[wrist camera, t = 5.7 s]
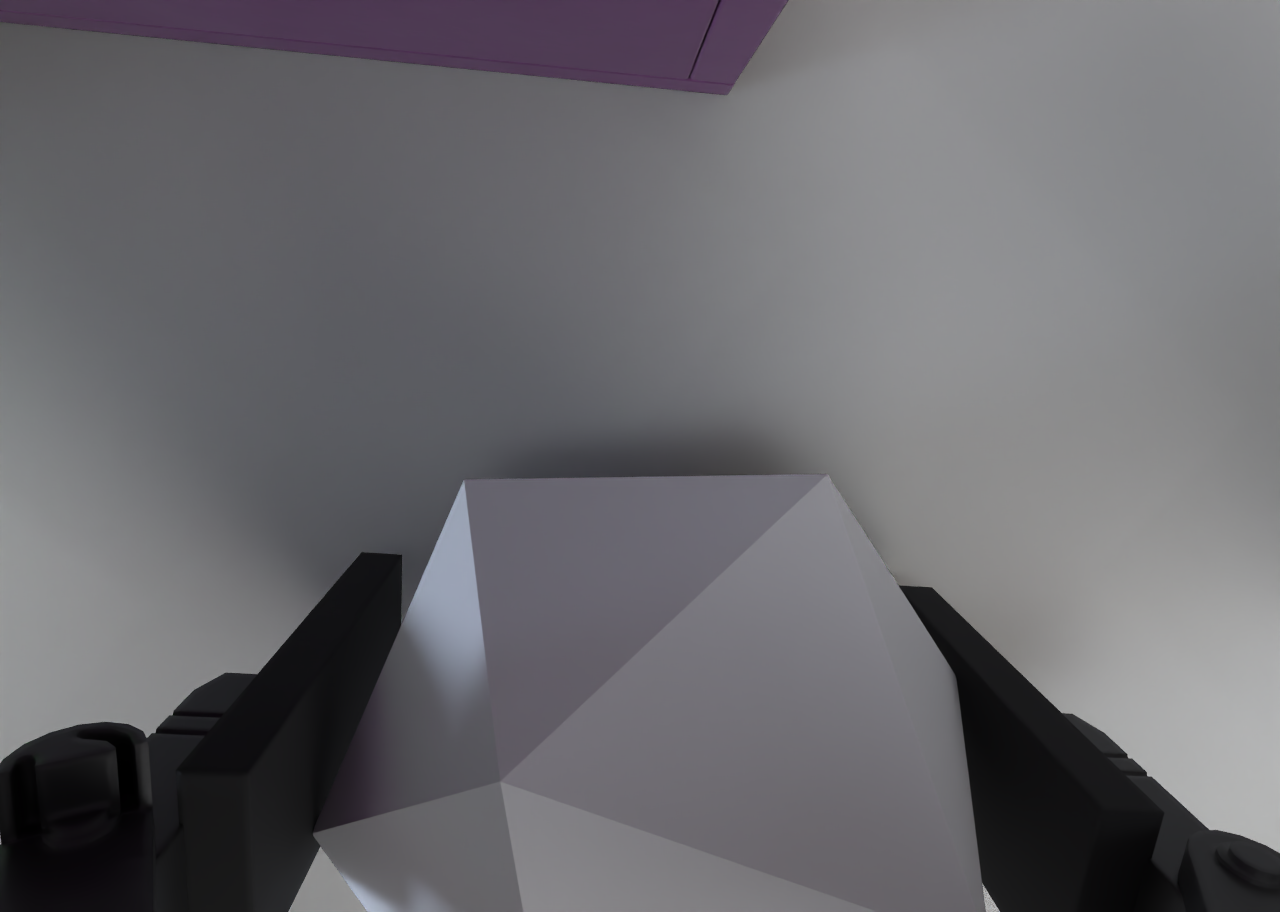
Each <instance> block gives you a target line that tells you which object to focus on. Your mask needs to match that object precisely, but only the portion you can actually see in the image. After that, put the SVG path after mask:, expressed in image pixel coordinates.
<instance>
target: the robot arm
mask: <svg viewBox="0 0 1280 912" xmlns="http://www.w3.org/2000/svg"><path fill="white" fill-rule="evenodd" d="M899 587H900V589H901V590H902V592H903V593H904V595H905V597H906V598H907V600H908V601H909V603H910V604H911V606H912V608H913V609H914V611H915V612H916V614H917V615H918V617H919V619H920V620H921V622H922V623H923V625H924V626H925V628H926V630H927V631H928V633H929V634H930V636H931V637H932V639H933V641H934V642H935V644H936V645H937V647H938V648H939V650H940V652H941V653H942V655H943V656H944V658H945V659H946V661H947V663H948V664H949V666H950V667H951V669H952V670H953V672H954V674H955V676H956V679H957V686H958V694H959V702H960V710H961V718H962V726H963V734H964V742H965V750H966V758H967V766H968V774H969V782H970V790H971V798H972V806H973V814H974V822H975V830H976V838H977V846H978V854H979V862H980V870H981V878H982V883H983V885H984V886H985V888H986V890H987V891H988V893H989V894H990V896H991V898H992V899H993V901H994V903H995V904H996V906H997V907H998V909H999V911H1000V912H1280V853H1278V852H1276V851H1275V850H1273V849H1271V848H1269V847H1267V846H1266V845H1263V844H1261V843H1258V842H1256V841H1253V840H1251V839H1248V838H1245V837H1243V836H1240V835H1236V834H1232V833H1227V832H1223V831H1218V830H1209V829H1208V828H1207V827H1205V826H1204V825H1203V824H1202V823H1201V822H1200V821H1199V820H1198V819H1197V818H1196V817H1195V816H1194V815H1192V814H1191V813H1190V812H1189V811H1188V810H1187V809H1186V808H1185V807H1184V806H1183V805H1182V804H1181V803H1179V802H1178V801H1177V800H1176V799H1175V798H1174V797H1173V796H1172V795H1171V794H1170V793H1169V792H1168V791H1166V790H1165V789H1164V788H1163V787H1162V786H1161V785H1160V784H1159V783H1158V782H1157V781H1156V780H1155V779H1153V778H1152V777H1147V772H1146V771H1145V770H1144V769H1143V768H1142V767H1141V766H1139V765H1138V764H1137V763H1136V762H1135V761H1134V760H1133V759H1129V758H1128V757H1127V754H1126V753H1125V752H1124V751H1123V750H1122V749H1121V748H1120V747H1119V746H1118V745H1117V744H1116V743H1115V742H1113V741H1112V740H1111V739H1110V738H1109V737H1108V736H1107V735H1106V734H1105V733H1103V732H1102V731H1100V730H1098V729H1097V728H1095V727H1093V726H1092V725H1090V724H1088V723H1087V722H1085V721H1083V720H1082V719H1080V718H1078V717H1077V716H1075V715H1073V714H1065V713H1061V712H1060V711H1059V710H1058V709H1057V708H1056V707H1055V706H1054V705H1053V704H1052V703H1051V702H1050V701H1049V700H1048V699H1046V698H1045V697H1044V696H1043V695H1042V694H1041V693H1040V692H1039V691H1038V690H1037V689H1036V688H1035V687H1034V686H1033V685H1032V684H1031V683H1030V682H1029V681H1028V680H1027V679H1026V678H1025V677H1024V676H1023V675H1022V674H1021V673H1020V672H1019V671H1018V670H1016V669H1015V668H1014V667H1013V666H1012V665H1011V664H1010V663H1009V662H1008V661H1007V660H1006V659H1005V658H1004V657H1003V656H1002V655H1001V654H1000V653H999V652H998V651H997V650H996V649H995V648H994V647H993V646H992V645H991V644H990V643H989V642H988V641H986V640H985V639H984V638H983V637H982V636H981V635H980V634H979V633H978V632H977V631H976V630H975V629H974V628H973V627H972V626H971V625H970V624H969V623H968V622H967V621H966V620H965V619H964V618H963V617H962V616H961V615H960V614H959V613H958V612H956V611H955V610H954V609H953V608H952V607H951V606H950V605H949V604H948V603H947V602H946V601H945V600H944V599H943V598H942V597H941V596H940V595H939V594H938V593H937V592H936V591H935V590H934V589H933V588H930V587H914V586H899ZM401 595H402V555H397V554H381V553H365V552H362V553H361V554H360V555H359V556H358V557H357V558H356V560H355V561H354V562H353V563H352V564H351V565H350V567H349V568H348V569H347V570H346V571H345V572H344V574H343V575H342V576H341V577H340V578H339V579H338V581H337V582H336V583H335V584H334V585H333V587H332V588H331V589H330V590H329V591H328V592H327V594H326V595H325V596H324V597H323V598H322V599H321V601H320V602H319V603H318V604H317V605H316V606H315V608H314V609H313V610H312V611H311V612H310V613H309V615H308V616H307V617H306V618H305V619H304V620H303V622H302V623H301V624H300V625H299V626H298V627H297V629H296V630H295V631H294V632H293V633H292V635H291V636H290V637H289V638H288V639H287V640H286V642H285V643H284V644H283V645H282V646H281V647H280V649H279V650H278V651H277V652H276V653H275V654H274V656H273V657H272V658H271V659H270V660H269V661H268V663H267V664H266V665H265V666H264V667H263V668H262V670H261V671H260V672H259V673H258V674H240V673H224V674H222V675H221V676H219V677H217V678H215V679H213V680H212V681H210V682H208V683H206V684H204V685H202V686H201V687H199V688H197V689H195V690H194V691H193V692H192V693H191V694H190V695H189V696H188V697H187V698H186V699H185V700H184V701H183V702H182V703H181V704H180V705H179V706H178V707H177V708H176V709H175V710H174V712H173V715H172V716H171V715H169V716H168V717H167V718H166V719H165V720H164V722H163V723H162V724H161V725H160V726H159V727H158V728H157V729H156V733H152V734H151V735H150V736H149V737H148V738H147V739H146V737H145V734H144V732H143V731H142V730H139V729H137V728H135V727H133V726H131V725H129V724H122V723H112V722H100V723H91V724H82V725H76V726H73V727H69V728H65V729H62V730H58V731H54V732H51V733H48V734H46V735H44V736H42V737H39V738H37V739H35V740H33V741H30V742H28V743H26V744H24V745H22V746H21V747H20V748H18V749H17V750H15V751H14V752H13V753H11V754H10V755H9V756H7V757H6V758H4V759H3V760H2V762H1V763H0V835H1V843H2V844H1V845H0V912H288V911H289V909H290V907H291V905H292V903H293V901H294V899H295V897H296V895H297V893H298V891H299V889H300V887H301V885H302V883H303V881H304V879H305V876H306V874H307V872H308V870H309V868H310V866H311V864H312V862H313V860H314V858H315V856H316V854H317V852H318V850H319V848H320V845H319V843H318V842H317V840H316V839H315V837H314V836H313V831H314V827H315V825H316V823H317V820H318V818H319V816H320V813H321V811H322V809H323V806H324V804H325V802H326V799H327V797H328V795H329V792H330V790H331V788H332V785H333V783H334V781H335V778H336V776H337V774H338V771H339V769H340V767H341V764H342V762H343V760H344V757H345V755H346V753H347V750H348V748H349V746H350V743H351V741H352V739H353V737H354V734H355V732H356V730H357V727H358V725H359V723H360V720H361V718H362V716H363V713H364V711H365V709H366V706H367V704H368V702H369V699H370V697H371V695H372V692H373V690H374V688H375V685H376V683H377V681H378V678H379V676H380V674H381V671H382V669H383V667H384V664H385V662H386V660H387V657H388V655H389V653H390V650H391V648H392V646H393V643H394V641H395V639H396V636H397V634H398V632H399V630H400V627H401Z"/></svg>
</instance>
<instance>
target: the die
mask: <svg viewBox="0 0 1280 912" xmlns="http://www.w3.org/2000/svg"><path fill="white" fill-rule="evenodd" d="M313 836H314V837H315V839H316V840H317V842H318V843H319V845H320V846H321V847H322V849H323V850H324V852H325V853H326V854H327V856H328V857H329V859H330V860H331V861H332V863H333V864H334V866H335V867H336V868H337V870H338V871H339V873H340V874H341V875H342V877H343V878H344V880H345V881H346V882H347V884H348V885H349V887H350V888H351V889H352V891H353V892H354V894H355V895H356V896H357V898H358V899H359V901H360V902H361V903H362V905H363V906H364V908H365V909H366V910H367V912H986V910H985V902H984V894H983V886H982V878H981V870H980V862H979V854H978V846H977V838H976V830H975V822H974V814H973V806H972V798H971V790H970V782H969V774H968V766H967V758H966V750H965V742H964V734H963V726H962V718H961V710H960V702H959V694H958V686H957V679H956V676H955V674H954V672H953V670H952V669H951V667H950V666H949V664H948V663H947V661H946V659H945V658H944V656H943V655H942V653H941V652H940V650H939V648H938V647H937V645H936V644H935V642H934V641H933V639H932V637H931V636H930V634H929V633H928V631H927V630H926V628H925V626H924V625H923V623H922V622H921V620H920V619H919V617H918V615H917V614H916V612H915V611H914V609H913V608H912V606H911V604H910V603H909V601H908V600H907V598H906V597H905V595H904V593H903V592H902V590H901V589H900V587H899V586H898V584H897V582H896V581H895V579H894V578H893V576H892V575H891V573H890V571H889V570H888V568H887V567H886V565H885V564H884V562H883V560H882V559H881V557H880V556H879V554H878V553H877V551H876V549H875V548H874V546H873V545H872V543H871V542H870V540H869V538H868V537H867V535H866V534H865V532H864V531H863V529H862V527H861V526H860V524H859V523H858V521H857V519H856V518H855V516H854V515H853V513H852V512H851V510H850V508H849V507H848V505H847V504H846V502H845V501H844V499H843V497H842V496H841V494H840V493H839V491H838V490H837V488H836V486H835V485H834V483H833V482H832V480H831V479H830V477H829V475H828V474H796V475H730V476H664V477H598V478H532V479H465V480H464V481H463V483H462V485H461V488H460V490H459V492H458V495H457V497H456V499H455V502H454V504H453V506H452V509H451V511H450V513H449V516H448V518H447V520H446V523H445V525H444V527H443V529H442V532H441V534H440V536H439V539H438V541H437V543H436V546H435V548H434V550H433V553H432V555H431V557H430V560H429V562H428V564H427V567H426V569H425V571H424V574H423V576H422V578H421V581H420V583H419V585H418V588H417V590H416V592H415V595H414V597H413V599H412V602H411V604H410V606H409V609H408V611H407V613H406V616H405V618H404V620H403V623H402V625H401V627H400V630H399V632H398V634H397V636H396V639H395V641H394V643H393V646H392V648H391V650H390V653H389V655H388V657H387V660H386V662H385V664H384V667H383V669H382V671H381V674H380V676H379V678H378V681H377V683H376V685H375V688H374V690H373V692H372V695H371V697H370V699H369V702H368V704H367V706H366V709H365V711H364V713H363V716H362V718H361V720H360V723H359V725H358V727H357V730H356V732H355V734H354V737H353V739H352V741H351V743H350V746H349V748H348V750H347V753H346V755H345V757H344V760H343V762H342V764H341V767H340V769H339V771H338V774H337V776H336V778H335V781H334V783H333V785H332V788H331V790H330V792H329V795H328V797H327V799H326V802H325V804H324V806H323V809H322V811H321V813H320V816H319V818H318V820H317V823H316V825H315V827H314V831H313Z"/></svg>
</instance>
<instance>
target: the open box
mask: <svg viewBox="0 0 1280 912" xmlns="http://www.w3.org/2000/svg"><path fill="white" fill-rule="evenodd" d="M787 2H788V0H0V22H7V23H17V24H27V25H36V26H46V27H56V28H66V29H76V30H86V31H96V32H106V33H116V34H126V35H136V36H146V37H156V38H166V39H175V40H185V41H195V42H205V43H215V44H225V45H235V46H245V47H255V48H265V49H275V50H285V51H295V52H305V53H314V54H324V55H334V56H344V57H354V58H364V59H374V60H384V61H394V62H404V63H414V64H424V65H434V66H444V67H453V68H463V69H473V70H483V71H493V72H503V73H513V74H523V75H533V76H543V77H553V78H563V79H573V80H583V81H592V82H602V83H612V84H622V85H632V86H642V87H652V88H662V89H672V90H682V91H692V92H702V93H712V94H722V95H727V94H728V93H729V92H730V90H731V89H732V87H733V86H734V84H735V82H736V80H737V79H738V77H739V76H740V74H741V73H742V71H743V70H744V68H745V67H746V65H747V63H748V62H749V60H750V59H751V57H752V56H753V54H754V53H755V51H756V50H757V48H758V46H759V45H760V43H761V42H762V40H763V39H764V37H765V36H766V34H767V33H768V31H769V29H770V28H771V26H772V25H773V23H774V22H775V20H776V19H777V17H778V16H779V14H780V12H781V11H782V9H783V8H784V6H785V5H786V3H787Z"/></svg>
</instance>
